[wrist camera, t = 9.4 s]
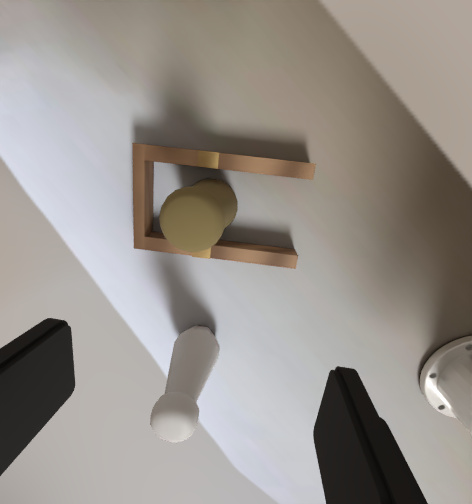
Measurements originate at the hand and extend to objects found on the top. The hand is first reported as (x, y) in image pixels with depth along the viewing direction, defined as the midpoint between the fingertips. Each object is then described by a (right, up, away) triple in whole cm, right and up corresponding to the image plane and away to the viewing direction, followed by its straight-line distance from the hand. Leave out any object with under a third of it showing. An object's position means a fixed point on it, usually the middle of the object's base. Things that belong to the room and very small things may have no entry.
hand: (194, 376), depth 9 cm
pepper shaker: (-1, +10, +20) cm, 23 cm away
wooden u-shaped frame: (0, +10, +20) cm, 22 cm away
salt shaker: (-3, -7, +26) cm, 27 cm away
